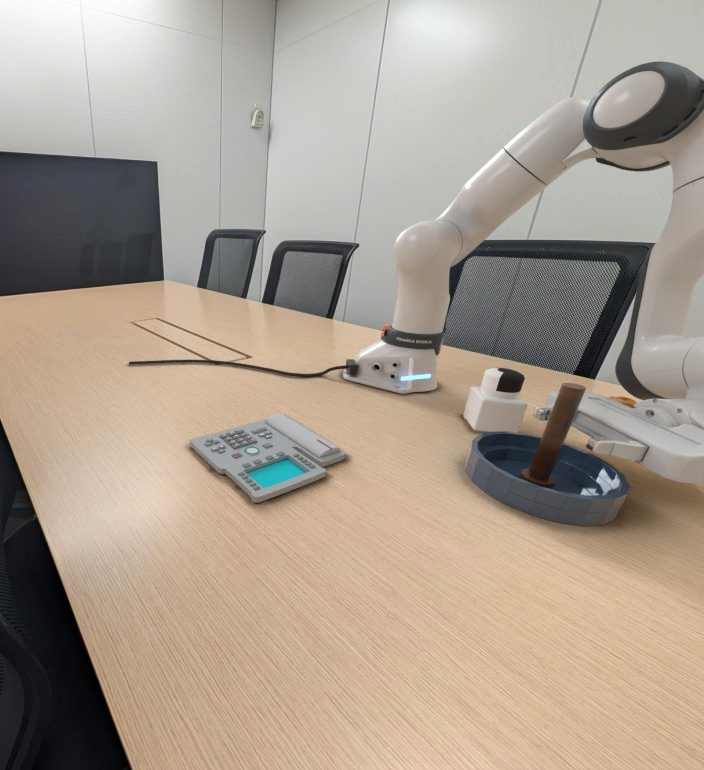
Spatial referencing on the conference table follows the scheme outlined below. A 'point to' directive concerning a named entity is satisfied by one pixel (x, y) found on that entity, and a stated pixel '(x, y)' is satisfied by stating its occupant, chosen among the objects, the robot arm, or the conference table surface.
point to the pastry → (624, 400)
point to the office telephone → (268, 455)
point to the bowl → (571, 472)
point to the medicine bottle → (496, 402)
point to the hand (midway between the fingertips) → (562, 428)
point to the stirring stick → (554, 436)
